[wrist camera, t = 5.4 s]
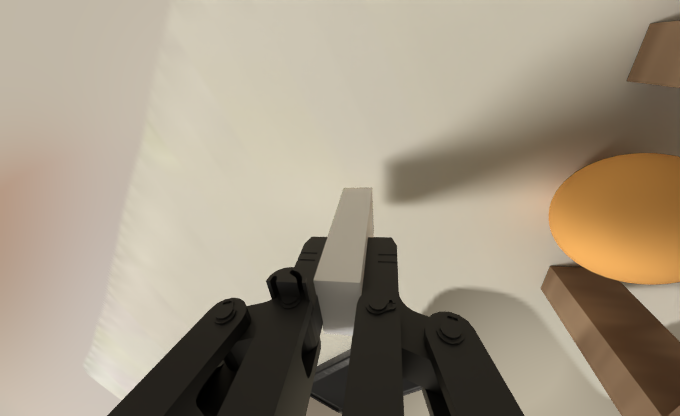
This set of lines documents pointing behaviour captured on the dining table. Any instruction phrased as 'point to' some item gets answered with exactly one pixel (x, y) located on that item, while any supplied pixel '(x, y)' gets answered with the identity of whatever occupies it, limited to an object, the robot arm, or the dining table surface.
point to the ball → (622, 218)
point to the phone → (340, 382)
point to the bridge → (625, 291)
